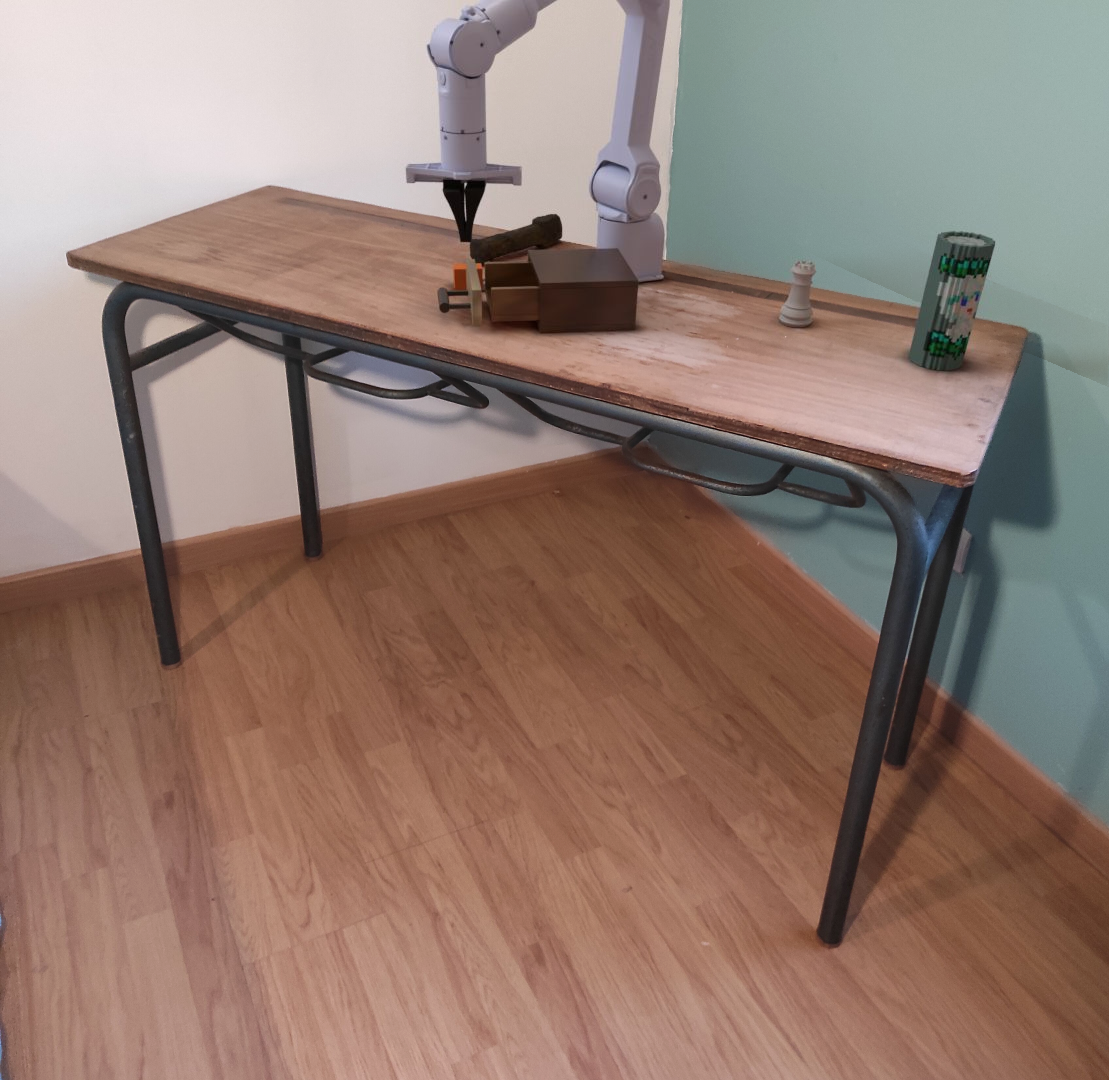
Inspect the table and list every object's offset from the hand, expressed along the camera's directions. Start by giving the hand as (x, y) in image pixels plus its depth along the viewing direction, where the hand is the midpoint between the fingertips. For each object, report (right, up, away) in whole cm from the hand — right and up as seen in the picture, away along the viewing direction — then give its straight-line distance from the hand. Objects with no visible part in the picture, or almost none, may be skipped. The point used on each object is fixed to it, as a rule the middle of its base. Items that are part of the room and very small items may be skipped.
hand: (466, 240), depth 126 cm
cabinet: (+15, -8, +4) cm, 18 cm away
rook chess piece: (+44, -10, +3) cm, 45 cm away
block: (0, -3, +12) cm, 12 cm away
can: (+59, -17, -7) cm, 62 cm away
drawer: (+4, -8, +2) cm, 10 cm away
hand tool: (+6, +6, +26) cm, 28 cm away
